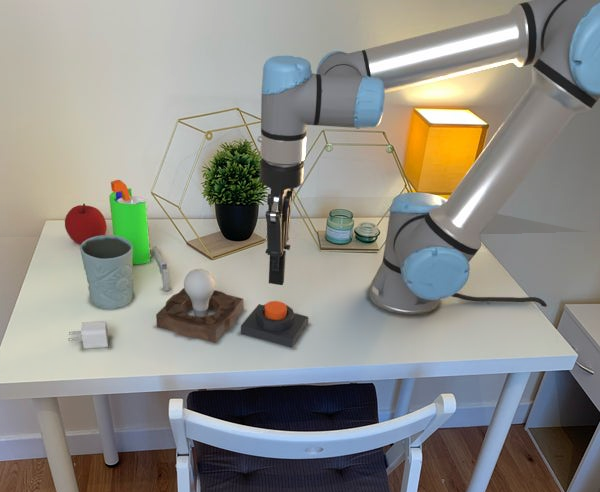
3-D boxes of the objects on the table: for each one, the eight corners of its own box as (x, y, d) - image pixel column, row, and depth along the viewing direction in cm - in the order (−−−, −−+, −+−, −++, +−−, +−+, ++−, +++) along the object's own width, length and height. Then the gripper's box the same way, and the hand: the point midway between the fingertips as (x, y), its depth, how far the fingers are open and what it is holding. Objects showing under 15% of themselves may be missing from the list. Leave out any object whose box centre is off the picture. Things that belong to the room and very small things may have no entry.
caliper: (169, 292, 140) (166, 264, 137) (165, 292, 140) (162, 264, 137) (158, 264, 157) (155, 239, 155) (153, 264, 157) (151, 239, 154)
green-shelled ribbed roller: (160, 257, 153) (154, 182, 141) (131, 268, 148) (122, 191, 137) (136, 243, 157) (128, 169, 146) (107, 253, 153) (97, 177, 141)
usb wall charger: (108, 348, 125) (105, 331, 122) (69, 351, 123) (66, 333, 121) (108, 336, 128) (105, 319, 125) (71, 339, 126) (67, 321, 124)
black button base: (307, 324, 135) (309, 308, 133) (292, 347, 129) (293, 330, 126) (258, 312, 138) (259, 295, 135) (240, 334, 131) (240, 317, 129)
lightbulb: (221, 315, 136) (220, 268, 129) (206, 330, 131) (204, 281, 124) (196, 307, 137) (193, 260, 130) (180, 321, 133) (176, 273, 126)
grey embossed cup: (92, 285, 142) (84, 233, 134) (140, 286, 143) (135, 235, 135) (84, 311, 134) (75, 257, 126) (135, 311, 135) (129, 258, 127)
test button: (289, 311, 132) (290, 304, 131) (281, 322, 129) (282, 314, 128) (269, 306, 133) (269, 298, 132) (260, 317, 130) (261, 309, 129)
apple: (111, 234, 160) (106, 194, 154) (105, 251, 154) (99, 211, 147) (72, 232, 160) (65, 193, 153) (64, 250, 153) (56, 209, 146)
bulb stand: (246, 310, 138) (247, 298, 136) (217, 345, 128) (216, 332, 126) (186, 294, 141) (186, 282, 139) (153, 327, 131) (152, 315, 129)
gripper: (268, 144, 116) (264, 263, 132) (251, 170, 106) (249, 296, 122) (310, 149, 116) (301, 269, 131) (296, 176, 106) (288, 302, 121)
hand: (276, 282), depth 126 cm, fingers closed
